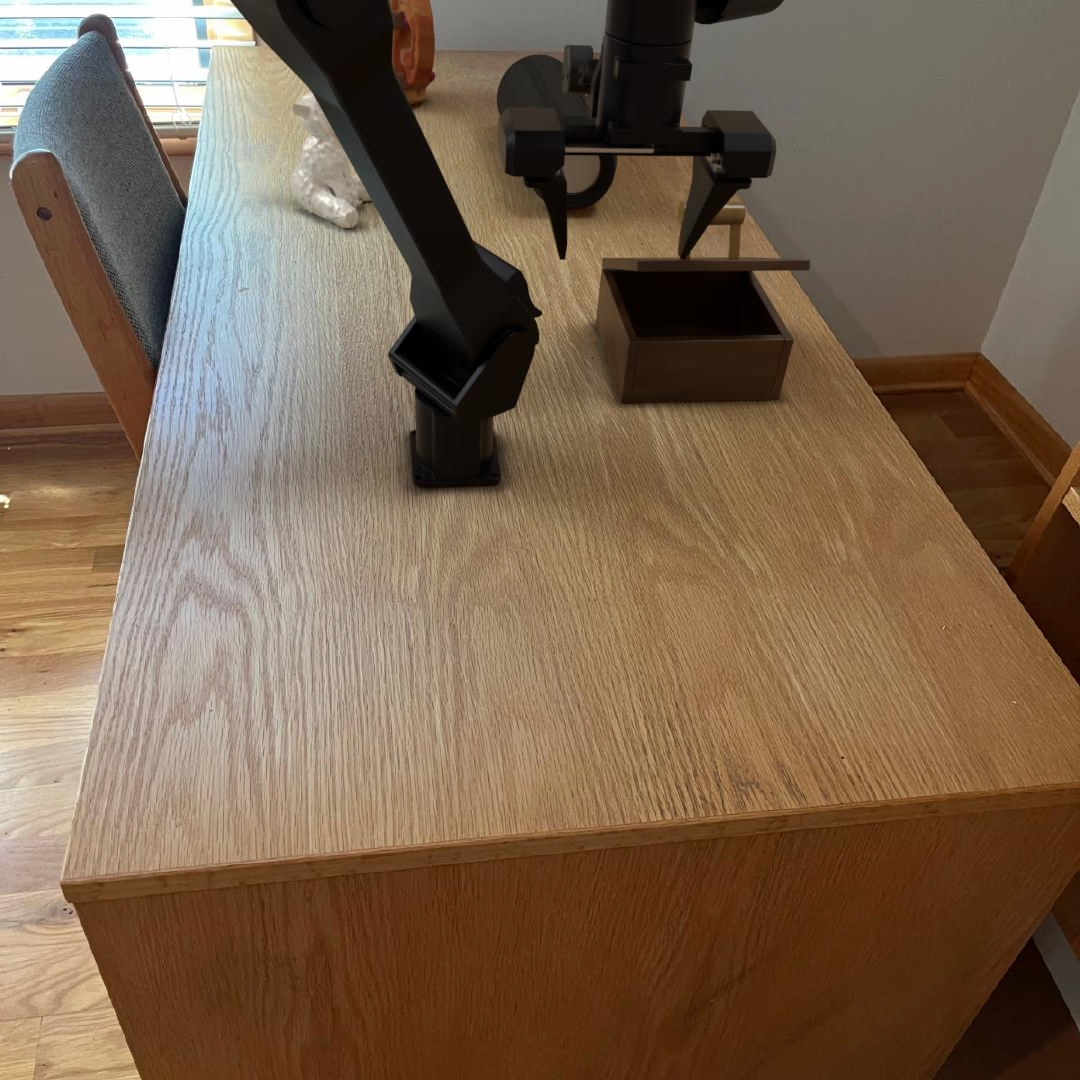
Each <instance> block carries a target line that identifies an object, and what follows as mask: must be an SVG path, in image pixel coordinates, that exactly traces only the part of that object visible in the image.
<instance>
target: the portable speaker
mask: <svg viewBox="0 0 1080 1080" xmlns="http://www.w3.org/2000/svg"><path fill="white" fill-rule="evenodd" d="M562 70H563V61H561V60H559V59H558V58H555V57H553V56H551V55H549V54H537V53H536V54H530V55H527V56H524V57H521V58H519V59H518V60H516V61H515V62H513V63H512V64H511V65H510V66H509V67H508V68H507V69H506V70H505V72H504V73H503V74H502V77H501V79H500V81H499V84H498V87H497V93H496V106H497V111H498V114H499V116H500V115H501V114H502V113H503V112H504V111H505V110H506V108H507V107H531V108H555V109H556V111H557V114H558V116H559V119H560V121H561V124H562V125H587V126H596V120H597V118H591V116H590V114H589V112H588V111H589V108H586V100H587V94H564V93H563V90H562ZM617 167H618V156H593V155H565V161H564V166H563V167H562V170H563V172H564V175H565V178H566V181H567V211H579V210H583V209H586V208H589V207H591V206H593V205H595V204H597V203H598V202H599V201H601V199H603V198H604V196H605V195H606V194H607V193H608V191H609V190H610V188H611V187H612V184H613V182H614V180H615V179H614V178H615V175H616V172H617ZM532 190H533V191H534V193H535V194H536V195H537V196H538V197H539V198H540V199H541V200H542V201H543V199H542V196H541V194H540V191H539V189H537V188H532Z"/></svg>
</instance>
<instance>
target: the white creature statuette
mask: <svg viewBox="0 0 1080 1080" xmlns="http://www.w3.org/2000/svg"><path fill="white" fill-rule="evenodd" d="M291 110H292V111H291V112H292V113H293V114H294V115H296V116H298V119H299V120H300V123H301V124H302V126H303V128H304V129H305V131H306V133H308V136H307V138H305V139H304V142H303V143H302V145H301V149H302V150H301V153H300V159H301V160H300V162H299V163H298V166H297V167H296V169H295V171H294V172H292V173H291V177H292V178H291V179H290V183H291V187H292V192H293V195H294V196H295V200H296V201H297V203H298V204H299V205H301V206H302V207H303V209H304V210H306V211H308V213H310V214H314V215H316V216H318V217H319V218H322V219H324V220H326V221H328V222H329V223H331V224H333V225H336V226H337V227H339V228H342V229H351V228H352V229H353V228H354V227H355V226H356V225H357V223H358V221H359V213H358V211H357V209H358V208H360V206H361V204H362V203H364V202H372V200H371V198H370V196H369V195H368V193H367V191H366V189H365V187H364V186H363V184H362V182H361V180H360V178H359V177H358V175H357V174H355V175H352V169H351V168H350V164H349V163H348V160H349V158H348V157H347V155H346V153H345V151H344V149H343V147H342V146H341V144H340V142H339V140H338V138H337V137H336V135H335V133H334V131H333V129H332V127H331V126H330V124H329V122H328V120H327V118H326V117H325V115H324V113H323V111H322V109H321V107H320V106H319V104H318V102H317V100H316V98H315V97H314V95H313V93H312V92H311V91H309V92H307V93H306V94H304V95H303V96H301V100H300V101H299V102H295V103H293V105H292V108H291Z"/></svg>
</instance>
